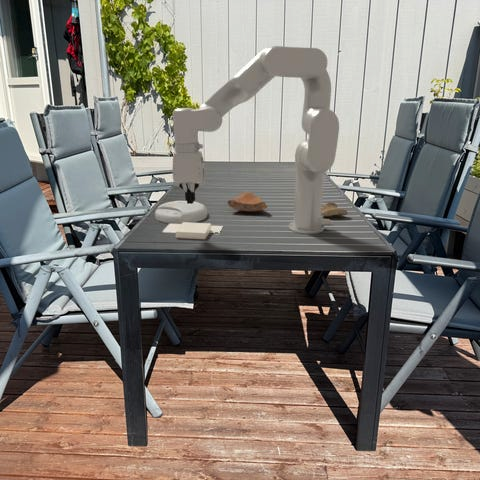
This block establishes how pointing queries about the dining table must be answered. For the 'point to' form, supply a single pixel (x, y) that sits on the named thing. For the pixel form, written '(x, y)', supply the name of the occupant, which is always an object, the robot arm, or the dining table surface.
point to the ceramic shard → (247, 202)
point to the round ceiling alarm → (180, 212)
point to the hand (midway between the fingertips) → (190, 202)
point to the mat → (173, 227)
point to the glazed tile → (193, 230)
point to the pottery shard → (332, 210)
